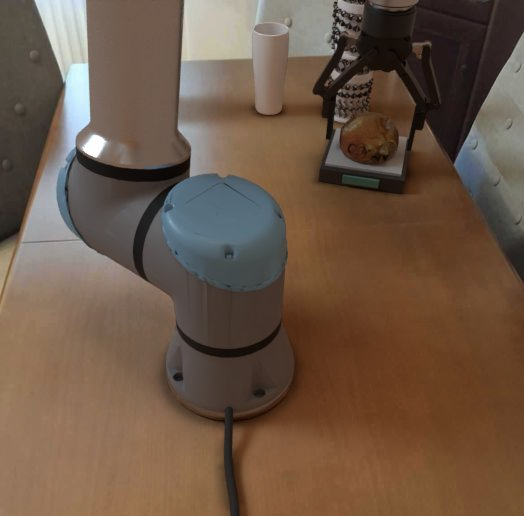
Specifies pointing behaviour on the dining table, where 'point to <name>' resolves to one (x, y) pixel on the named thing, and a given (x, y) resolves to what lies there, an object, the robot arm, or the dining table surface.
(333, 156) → the kitchen scale
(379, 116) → the bread roll
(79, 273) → the dining table surface
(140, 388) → the dining table surface
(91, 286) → the dining table surface
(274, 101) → the drinking glass
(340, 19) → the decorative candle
